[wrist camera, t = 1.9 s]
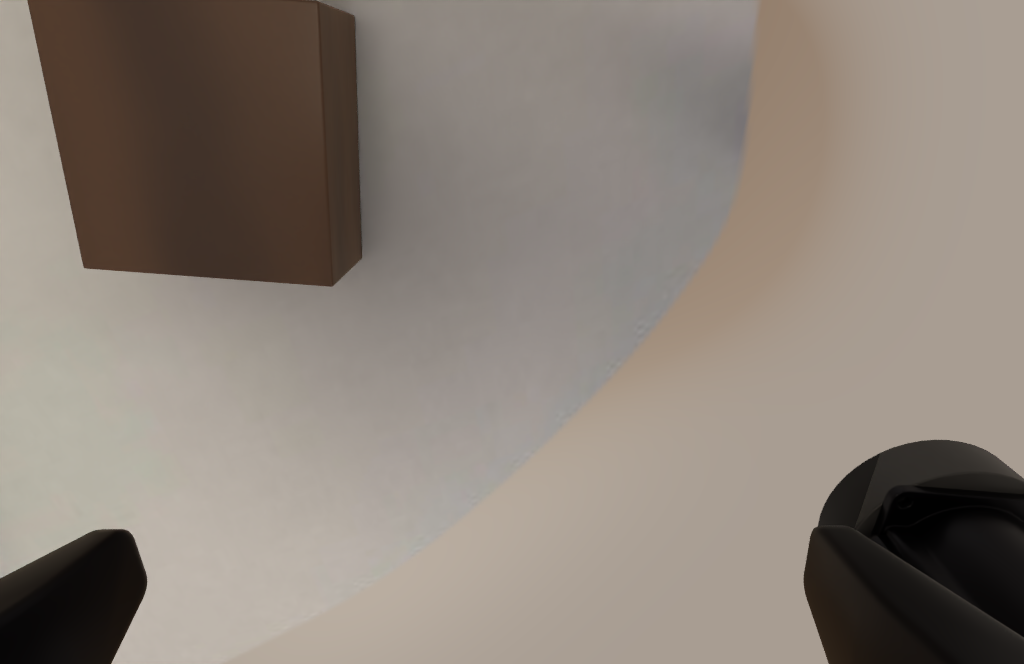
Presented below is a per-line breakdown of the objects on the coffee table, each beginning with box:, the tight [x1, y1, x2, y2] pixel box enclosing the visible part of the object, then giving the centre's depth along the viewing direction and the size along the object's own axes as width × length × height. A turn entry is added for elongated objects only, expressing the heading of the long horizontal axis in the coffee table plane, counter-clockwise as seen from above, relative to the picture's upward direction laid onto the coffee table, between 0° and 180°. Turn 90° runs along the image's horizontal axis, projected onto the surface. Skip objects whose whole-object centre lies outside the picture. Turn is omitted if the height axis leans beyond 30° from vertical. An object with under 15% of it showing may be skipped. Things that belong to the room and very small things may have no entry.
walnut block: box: [28, 0, 362, 287], centre depth 17 cm, size 7×7×3 cm
